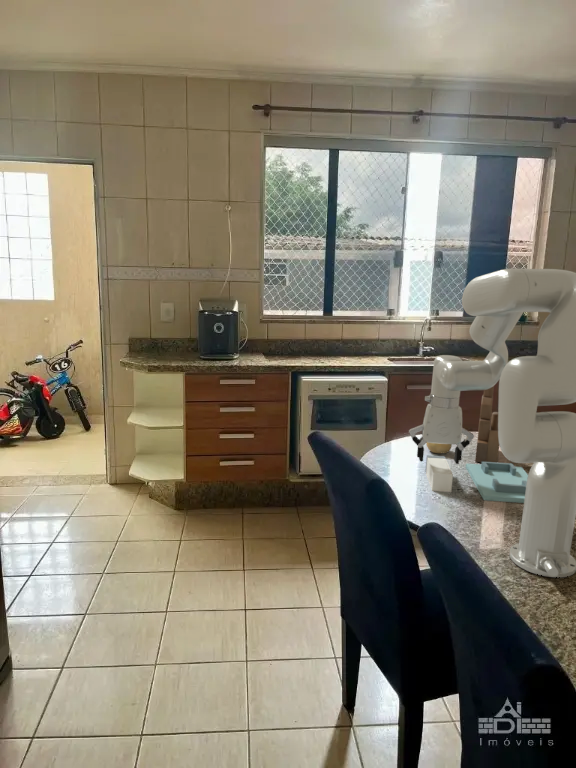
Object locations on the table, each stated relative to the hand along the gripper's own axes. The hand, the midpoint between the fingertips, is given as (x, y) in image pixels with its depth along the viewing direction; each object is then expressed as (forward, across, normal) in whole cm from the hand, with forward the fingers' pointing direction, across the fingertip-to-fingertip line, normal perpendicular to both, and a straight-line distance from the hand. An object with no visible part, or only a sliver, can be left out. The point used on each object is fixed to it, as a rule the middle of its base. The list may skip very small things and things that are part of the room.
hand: (438, 461), depth 156 cm
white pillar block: (+6, 0, -1) cm, 6 cm away
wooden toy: (+6, +19, +24) cm, 32 cm away
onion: (+7, +4, +25) cm, 26 cm away
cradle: (+6, +18, 0) cm, 19 cm away
